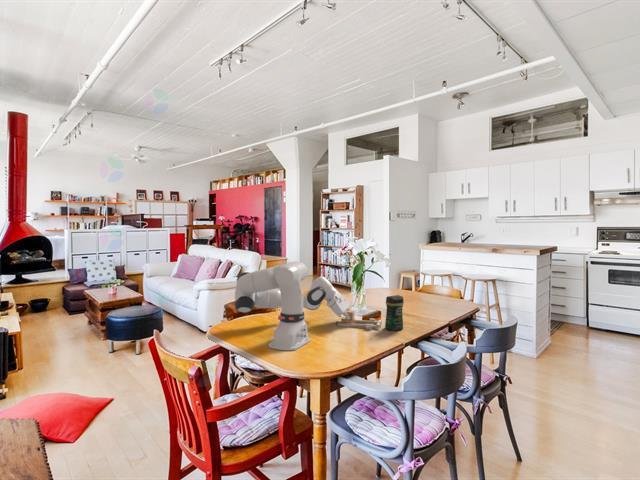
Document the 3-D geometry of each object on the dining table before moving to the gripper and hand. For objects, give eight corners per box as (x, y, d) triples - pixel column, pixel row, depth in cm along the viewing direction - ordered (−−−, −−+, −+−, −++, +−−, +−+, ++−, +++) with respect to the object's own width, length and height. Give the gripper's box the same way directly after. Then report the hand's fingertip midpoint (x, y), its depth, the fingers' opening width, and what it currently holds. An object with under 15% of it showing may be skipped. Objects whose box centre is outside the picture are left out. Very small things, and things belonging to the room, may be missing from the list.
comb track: (378, 331, 195) (378, 325, 194) (336, 327, 202) (336, 321, 202) (382, 324, 207) (382, 319, 207) (342, 320, 215) (342, 315, 214)
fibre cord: (378, 326, 202) (378, 324, 202) (377, 327, 201) (377, 325, 201) (336, 323, 209) (336, 320, 209) (336, 323, 208) (336, 321, 208)
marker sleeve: (352, 325, 203) (352, 312, 203) (345, 325, 205) (345, 311, 204) (354, 323, 208) (354, 310, 208) (347, 322, 209) (347, 309, 209)
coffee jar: (392, 332, 193) (392, 298, 192) (382, 328, 200) (383, 295, 199) (405, 329, 198) (406, 296, 197) (396, 325, 205) (396, 293, 204)
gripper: (335, 298, 219) (351, 315, 217) (326, 306, 199) (343, 325, 197) (342, 291, 217) (358, 309, 215) (333, 299, 198) (351, 318, 195)
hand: (351, 316), depth 206 cm, fingers closed on marker sleeve, 5 cm apart
